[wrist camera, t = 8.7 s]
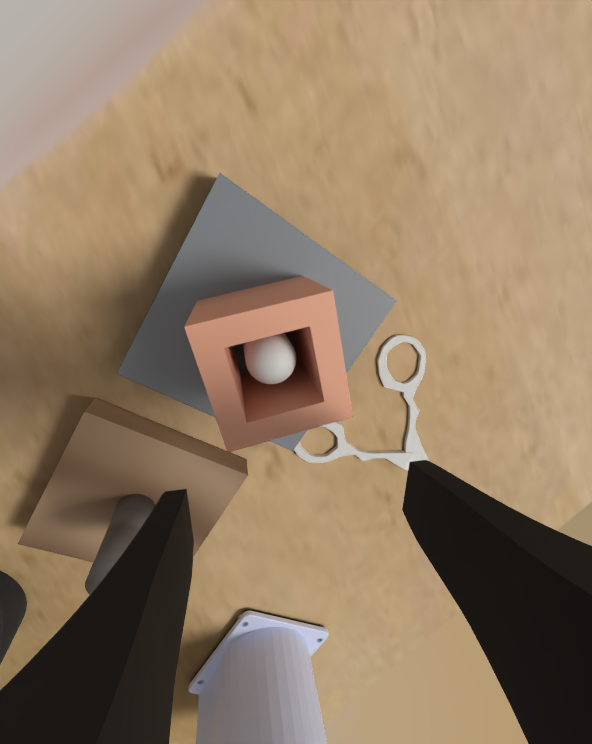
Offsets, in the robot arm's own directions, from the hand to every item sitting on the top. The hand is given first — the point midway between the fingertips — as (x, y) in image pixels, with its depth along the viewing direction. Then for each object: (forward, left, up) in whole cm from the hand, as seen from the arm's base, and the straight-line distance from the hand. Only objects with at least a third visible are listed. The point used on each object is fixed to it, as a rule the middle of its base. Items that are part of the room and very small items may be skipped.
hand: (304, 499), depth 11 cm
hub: (+3, +2, -9) cm, 10 cm away
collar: (+2, +2, -8) cm, 8 cm away
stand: (-9, +3, -9) cm, 14 cm away
